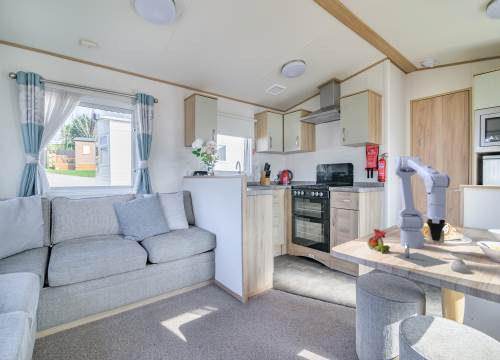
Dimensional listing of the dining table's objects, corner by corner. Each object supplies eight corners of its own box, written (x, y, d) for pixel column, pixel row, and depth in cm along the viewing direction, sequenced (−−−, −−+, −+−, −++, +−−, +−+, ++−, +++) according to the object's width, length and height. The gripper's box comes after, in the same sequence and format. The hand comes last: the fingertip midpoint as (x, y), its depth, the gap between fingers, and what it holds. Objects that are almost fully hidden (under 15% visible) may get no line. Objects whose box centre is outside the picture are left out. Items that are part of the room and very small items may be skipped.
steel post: (406, 256, 100) (406, 242, 99) (410, 258, 98) (410, 243, 98) (403, 257, 99) (403, 243, 99) (407, 258, 98) (407, 244, 97)
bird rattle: (368, 257, 108) (388, 254, 102) (359, 232, 112) (377, 228, 105) (375, 254, 112) (394, 251, 105) (366, 231, 116) (384, 226, 109)
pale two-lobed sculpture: (466, 281, 82) (447, 272, 86) (468, 274, 88) (451, 266, 91) (471, 270, 81) (452, 261, 84) (473, 263, 86) (455, 256, 90)
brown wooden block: (433, 239, 98) (433, 228, 98) (447, 242, 93) (447, 231, 93) (424, 240, 96) (425, 229, 96) (438, 243, 91) (438, 232, 91)
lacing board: (416, 254, 105) (416, 252, 105) (449, 265, 93) (450, 262, 93) (392, 258, 101) (392, 255, 101) (424, 269, 88) (424, 267, 88)
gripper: (424, 202, 102) (424, 233, 103) (422, 205, 91) (422, 241, 91) (446, 203, 98) (445, 236, 98) (446, 206, 87) (446, 244, 87)
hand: (435, 238), depth 95 cm, fingers closed on brown wooden block, 5 cm apart
